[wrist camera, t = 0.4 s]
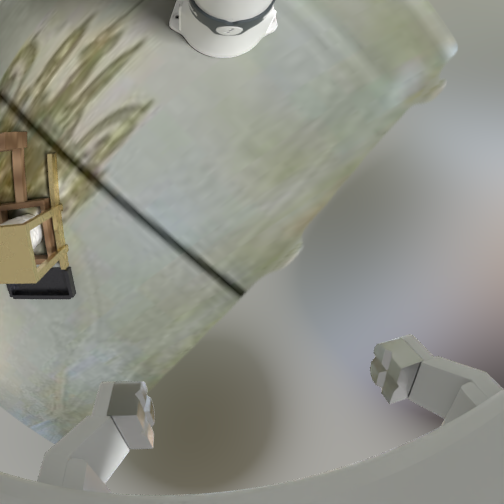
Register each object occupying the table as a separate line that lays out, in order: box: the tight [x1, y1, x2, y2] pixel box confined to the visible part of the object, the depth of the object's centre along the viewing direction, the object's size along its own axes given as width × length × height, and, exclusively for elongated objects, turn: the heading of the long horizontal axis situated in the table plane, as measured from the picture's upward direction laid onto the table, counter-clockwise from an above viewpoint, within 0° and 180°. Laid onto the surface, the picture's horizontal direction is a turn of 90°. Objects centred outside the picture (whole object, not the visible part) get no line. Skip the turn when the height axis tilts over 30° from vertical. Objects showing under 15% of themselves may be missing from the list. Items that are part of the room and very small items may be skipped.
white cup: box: [0, 214, 43, 250], centre depth 44 cm, size 8×8×10 cm
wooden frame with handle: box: [0, 132, 57, 265], centre depth 42 cm, size 25×12×8 cm, turn 179°
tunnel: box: [0, 153, 76, 299], centre depth 42 cm, size 28×17×15 cm, turn 179°
